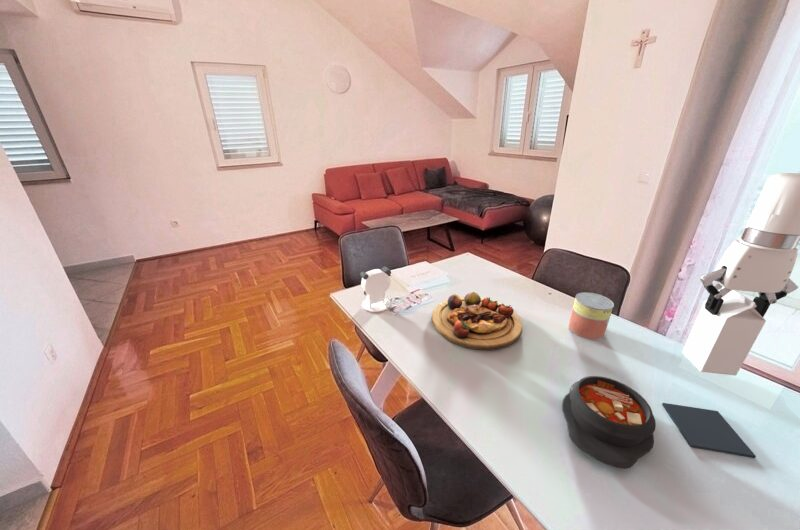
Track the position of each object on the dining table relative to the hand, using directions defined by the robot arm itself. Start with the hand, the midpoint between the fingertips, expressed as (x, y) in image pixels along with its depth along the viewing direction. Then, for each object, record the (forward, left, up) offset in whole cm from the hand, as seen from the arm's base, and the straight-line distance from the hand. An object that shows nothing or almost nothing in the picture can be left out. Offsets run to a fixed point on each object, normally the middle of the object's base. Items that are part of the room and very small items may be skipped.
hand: (732, 313), depth 69 cm
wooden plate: (+53, -26, -28) cm, 65 cm away
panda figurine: (+92, -31, -28) cm, 101 cm away
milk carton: (0, 0, -14) cm, 14 cm away
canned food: (+15, -30, -28) cm, 43 cm away
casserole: (+23, +11, -28) cm, 38 cm away
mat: (0, +7, -28) cm, 28 cm away
